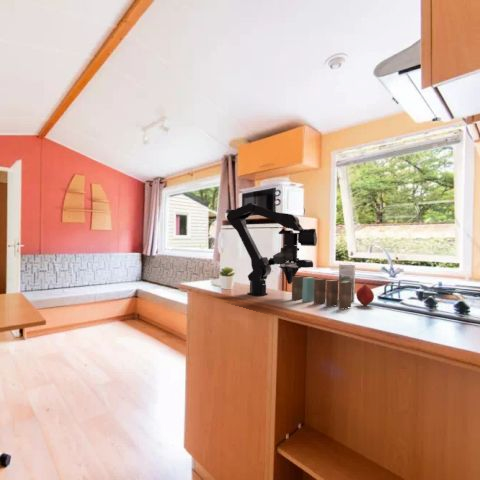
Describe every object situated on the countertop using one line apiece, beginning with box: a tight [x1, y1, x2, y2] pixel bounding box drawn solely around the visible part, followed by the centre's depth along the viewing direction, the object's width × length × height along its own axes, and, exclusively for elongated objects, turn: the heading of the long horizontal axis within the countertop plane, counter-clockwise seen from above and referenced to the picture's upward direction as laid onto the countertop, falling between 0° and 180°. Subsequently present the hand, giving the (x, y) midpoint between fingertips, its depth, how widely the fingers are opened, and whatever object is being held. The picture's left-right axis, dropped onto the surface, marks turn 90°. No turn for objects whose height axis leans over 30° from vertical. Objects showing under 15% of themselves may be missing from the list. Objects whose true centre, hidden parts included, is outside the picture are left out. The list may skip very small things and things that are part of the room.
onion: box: [356, 283, 375, 307], centre depth 108 cm, size 6×6×8 cm
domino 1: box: [291, 275, 304, 301], centre depth 119 cm, size 2×5×9 cm, turn 134°
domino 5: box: [338, 281, 352, 310], centre depth 104 cm, size 2×5×9 cm, turn 133°
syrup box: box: [338, 262, 356, 302], centre depth 120 cm, size 6×6×14 cm
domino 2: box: [301, 276, 315, 303], centre depth 115 cm, size 2×5×9 cm, turn 134°
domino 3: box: [313, 278, 327, 305], centre depth 111 cm, size 2×5×9 cm, turn 134°
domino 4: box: [325, 279, 339, 307], centre depth 108 cm, size 2×5×9 cm, turn 134°
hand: (289, 283), depth 122 cm, fingers closed
